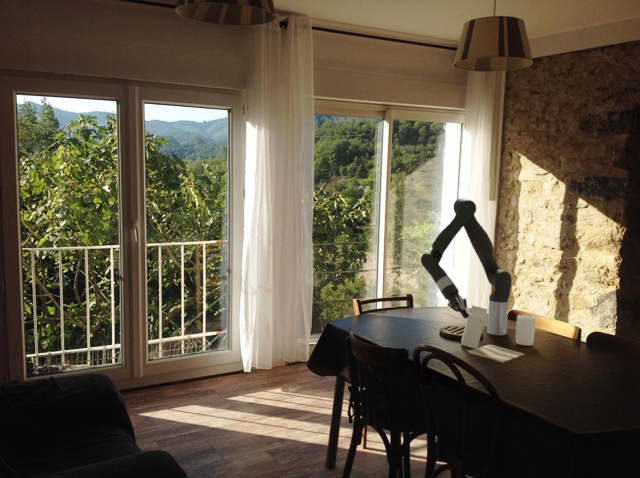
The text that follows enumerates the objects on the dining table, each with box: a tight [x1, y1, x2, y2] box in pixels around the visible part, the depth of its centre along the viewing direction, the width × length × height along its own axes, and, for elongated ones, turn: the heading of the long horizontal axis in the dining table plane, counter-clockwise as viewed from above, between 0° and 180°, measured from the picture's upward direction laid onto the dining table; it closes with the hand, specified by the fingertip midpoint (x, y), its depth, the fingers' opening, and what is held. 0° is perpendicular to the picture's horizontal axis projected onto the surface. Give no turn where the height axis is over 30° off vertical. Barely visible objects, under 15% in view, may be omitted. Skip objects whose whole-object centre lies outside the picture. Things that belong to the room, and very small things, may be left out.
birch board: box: [467, 344, 525, 364], centre depth 256 cm, size 18×18×1 cm
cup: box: [515, 314, 536, 346], centre depth 270 cm, size 8×8×14 cm
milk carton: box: [460, 304, 488, 349], centre depth 265 cm, size 7×7×19 cm
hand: (467, 317), depth 266 cm, fingers closed
